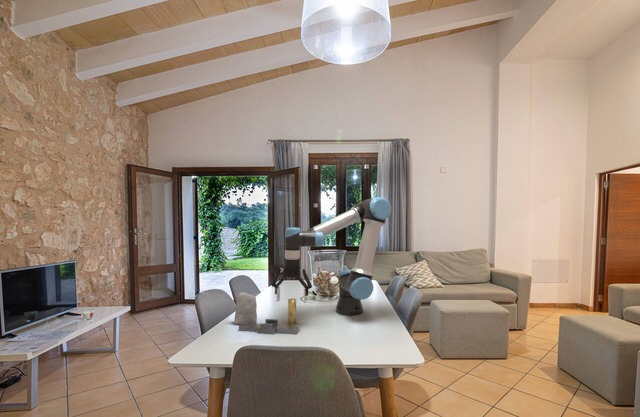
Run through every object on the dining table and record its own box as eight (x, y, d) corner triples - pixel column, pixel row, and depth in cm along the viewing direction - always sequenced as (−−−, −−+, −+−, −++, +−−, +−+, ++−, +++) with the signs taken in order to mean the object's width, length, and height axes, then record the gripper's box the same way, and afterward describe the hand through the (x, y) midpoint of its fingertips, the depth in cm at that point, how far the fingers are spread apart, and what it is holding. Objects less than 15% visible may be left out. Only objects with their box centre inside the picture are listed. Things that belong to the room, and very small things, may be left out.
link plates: (300, 329, 150) (300, 320, 150) (296, 335, 142) (296, 326, 142) (244, 326, 155) (244, 317, 155) (237, 331, 147) (237, 322, 147)
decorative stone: (257, 321, 162) (258, 291, 162) (254, 325, 156) (255, 294, 156) (236, 321, 162) (237, 291, 163) (232, 325, 156) (233, 294, 157)
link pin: (297, 323, 160) (297, 298, 160) (295, 325, 156) (295, 300, 156) (289, 322, 160) (289, 298, 161) (287, 325, 156) (287, 300, 157)
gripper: (318, 258, 161) (317, 301, 160) (270, 257, 165) (269, 298, 164) (315, 260, 154) (314, 305, 153) (265, 258, 158) (264, 302, 157)
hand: (291, 301), depth 158 cm, fingers open, 13 cm apart
